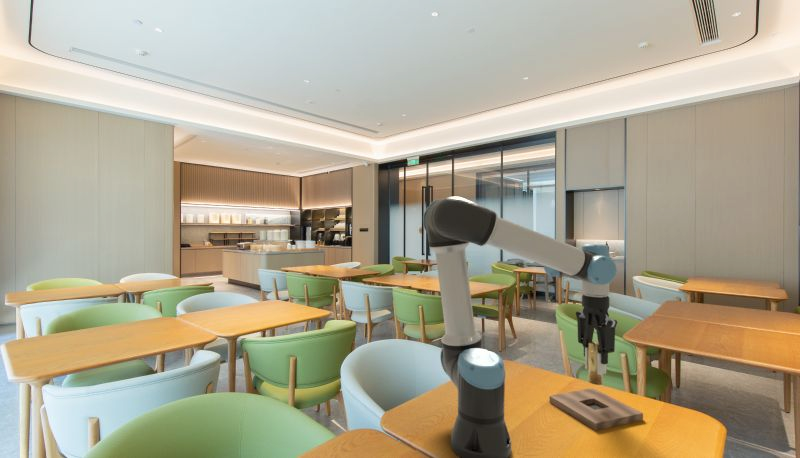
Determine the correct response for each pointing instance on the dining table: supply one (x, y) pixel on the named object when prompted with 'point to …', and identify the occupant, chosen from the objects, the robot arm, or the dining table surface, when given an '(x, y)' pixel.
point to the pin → (593, 364)
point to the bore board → (596, 408)
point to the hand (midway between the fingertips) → (595, 370)
